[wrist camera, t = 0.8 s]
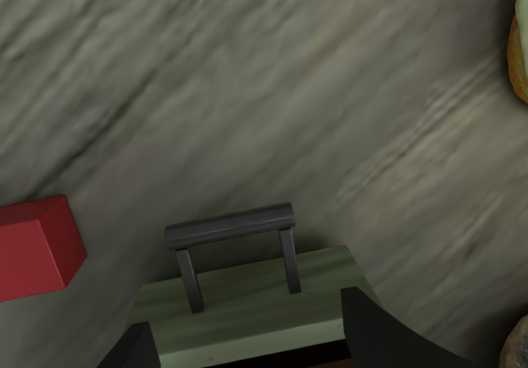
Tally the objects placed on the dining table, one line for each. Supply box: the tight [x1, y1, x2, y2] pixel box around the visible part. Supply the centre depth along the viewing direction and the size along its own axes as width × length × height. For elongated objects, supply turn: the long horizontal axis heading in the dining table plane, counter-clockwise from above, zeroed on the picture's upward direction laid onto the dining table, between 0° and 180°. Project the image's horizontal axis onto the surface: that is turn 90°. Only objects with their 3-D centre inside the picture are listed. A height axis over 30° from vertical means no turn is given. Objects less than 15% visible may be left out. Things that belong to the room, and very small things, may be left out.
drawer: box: [123, 202, 385, 368], centre depth 22 cm, size 17×12×6 cm
